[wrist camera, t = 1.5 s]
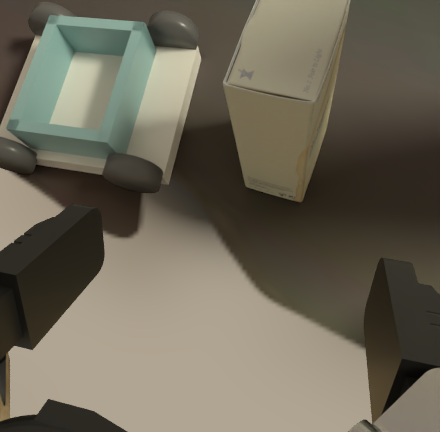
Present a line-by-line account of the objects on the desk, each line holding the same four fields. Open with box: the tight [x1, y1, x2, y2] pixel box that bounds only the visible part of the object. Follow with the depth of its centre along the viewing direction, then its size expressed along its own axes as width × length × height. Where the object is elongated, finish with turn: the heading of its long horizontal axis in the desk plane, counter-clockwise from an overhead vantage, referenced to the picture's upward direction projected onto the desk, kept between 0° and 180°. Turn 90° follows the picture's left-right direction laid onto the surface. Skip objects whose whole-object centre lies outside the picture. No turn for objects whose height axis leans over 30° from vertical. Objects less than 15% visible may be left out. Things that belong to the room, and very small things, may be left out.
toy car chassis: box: [0, 2, 201, 193], centre depth 31 cm, size 14×13×4 cm
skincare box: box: [223, 0, 350, 202], centre depth 24 cm, size 6×4×12 cm
